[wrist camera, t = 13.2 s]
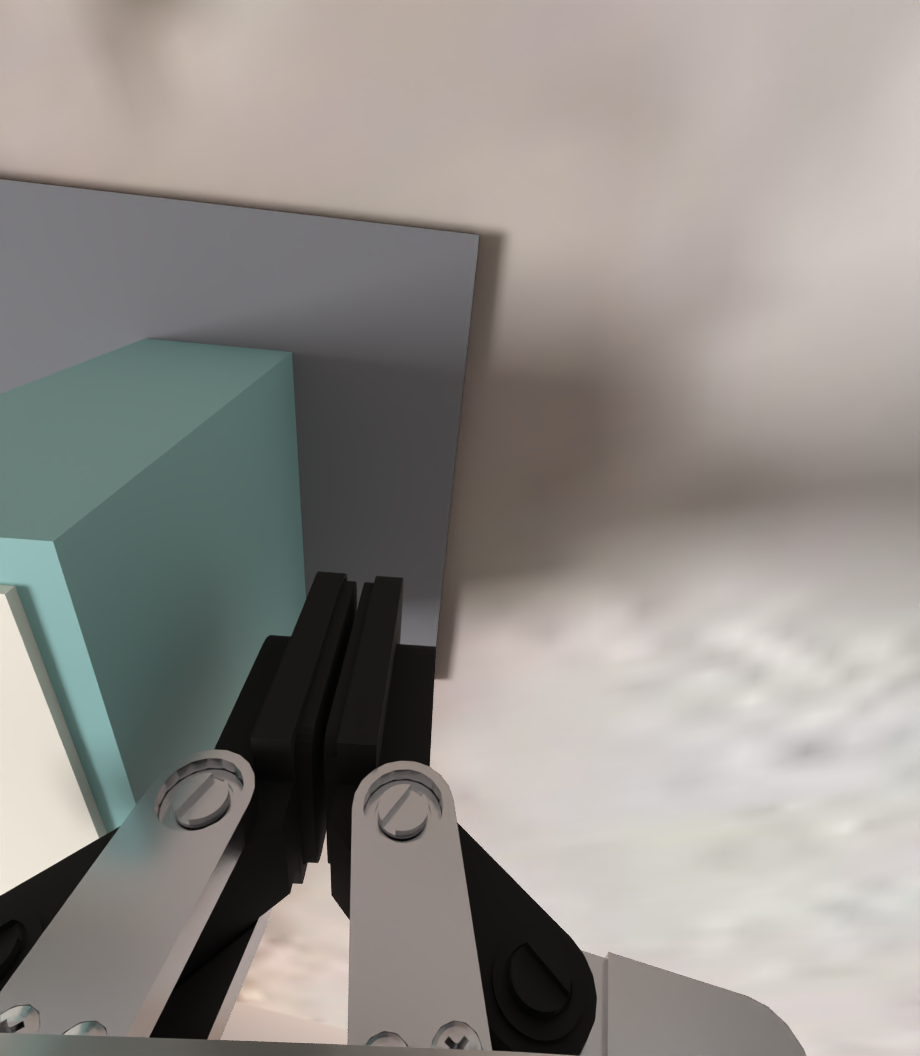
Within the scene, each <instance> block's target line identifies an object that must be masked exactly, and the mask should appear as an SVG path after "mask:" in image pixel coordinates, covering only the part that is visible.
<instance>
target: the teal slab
mask: <svg viewBox="0 0 920 1056" xmlns="http://www.w3.org/2000/svg"><path fill="white" fill-rule="evenodd" d="M305 601H306V590H305V573H304V555H303V537H302V520H301V502H300V485H299V467H298V449H297V432H296V414H295V396H294V379H293V361H292V352H287V351H276V350H265V349H254V348H244V347H233V346H222V345H211V344H201V343H190V342H179V341H168V340H158V339H147V338H145V339H142V340H140V341H137V342H134V343H132V344H129V345H126V346H124V347H121V348H119V349H116V350H113V351H111V352H108V353H106V354H103V355H100V356H98V357H95V358H93V359H90V360H87V361H85V362H82V363H79V364H77V365H74V366H72V367H69V368H66V369H64V370H61V371H59V372H56V373H53V374H51V375H48V376H45V377H43V378H40V379H38V380H35V381H32V382H30V383H27V384H25V385H22V386H19V387H17V388H14V389H11V390H9V391H6V392H4V393H1V394H0V895H2V894H4V893H6V892H7V891H9V890H11V889H13V888H14V887H16V886H18V885H19V884H21V883H23V882H25V881H26V880H28V879H30V878H32V877H33V876H35V875H37V874H38V873H40V872H42V871H44V870H45V869H47V868H49V867H51V866H52V865H54V864H56V863H57V862H59V861H61V860H63V859H64V858H66V857H68V856H69V855H71V854H73V853H75V852H76V851H78V850H80V849H82V848H83V847H85V846H87V845H88V844H90V843H92V842H94V841H95V840H97V839H99V838H101V837H102V836H104V835H106V834H107V833H109V832H111V831H113V830H114V829H116V828H118V827H120V826H121V825H122V823H123V822H124V821H125V819H126V818H127V817H128V815H129V814H130V812H131V811H132V810H133V808H134V807H135V806H136V804H137V803H138V801H139V800H140V799H141V797H142V796H143V794H144V793H145V792H146V790H147V789H148V788H149V786H150V785H151V783H152V782H153V781H154V780H155V779H156V778H157V777H158V776H159V775H160V774H161V773H162V771H163V770H164V769H166V768H167V767H169V766H170V765H172V764H173V763H175V762H176V761H177V760H179V759H181V758H184V757H186V756H188V755H191V754H193V753H196V752H201V751H206V750H211V749H212V750H214V748H215V746H216V744H217V742H218V740H219V738H220V735H221V733H222V731H223V729H224V727H225V725H226V722H227V720H228V718H229V716H230V714H231V712H232V709H233V707H234V705H235V703H236V701H237V699H238V696H239V694H240V692H241V690H242V688H243V686H244V683H245V681H246V679H247V677H248V675H249V673H250V671H251V668H252V666H253V664H254V662H255V660H256V658H257V655H258V653H259V651H260V649H261V647H262V645H263V643H264V641H265V639H266V637H268V636H269V635H277V636H291V635H292V633H293V630H294V628H295V625H296V623H297V620H298V618H299V615H300V613H301V611H302V608H303V606H304V603H305Z"/></svg>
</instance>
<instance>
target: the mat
mask: <svg viewBox="0 0 920 1056" xmlns="http://www.w3.org/2000/svg"><path fill="white" fill-rule="evenodd" d="M478 243H479V234H471V233H462V232H454V231H445V230H436V229H428V228H419V227H411V226H402V225H393V224H385V223H376V222H368V221H359V220H351V219H342V218H333V217H325V216H316V215H308V214H299V213H290V212H282V211H273V210H265V209H256V208H248V207H239V206H230V205H222V204H213V203H205V202H196V201H187V200H179V199H170V198H162V197H153V196H145V195H136V194H127V193H119V192H110V191H102V190H93V189H84V188H76V187H67V186H59V185H50V184H41V183H33V182H24V181H16V180H7V179H0V394H1V393H4V392H6V391H9V390H11V389H14V388H17V387H19V386H22V385H25V384H27V383H30V382H32V381H35V380H38V379H40V378H43V377H45V376H48V375H51V374H53V373H56V372H59V371H61V370H64V369H66V368H69V367H72V366H74V365H77V364H79V363H82V362H85V361H87V360H90V359H93V358H95V357H98V356H100V355H103V354H106V353H108V352H111V351H113V350H116V349H119V348H121V347H124V346H126V345H129V344H132V343H134V342H137V341H140V340H142V339H145V338H147V339H158V340H168V341H179V342H190V343H201V344H211V345H222V346H233V347H244V348H254V349H265V350H276V351H287V352H292V361H293V379H294V396H295V414H296V432H297V449H298V467H299V485H300V502H301V520H302V537H303V555H304V573H305V590H306V598H307V596H308V593H309V591H310V588H311V586H312V583H313V581H314V578H315V576H316V574H317V572H319V571H321V572H334V573H346V574H347V581H356V582H357V608H358V604H359V600H360V596H361V593H362V589H363V585H364V582H370V583H374V581H375V577H376V576H387V577H401V578H403V601H402V620H401V639H400V644H406V645H421V646H435V647H436V640H437V631H438V621H439V612H440V602H441V593H442V583H443V574H444V564H445V555H446V546H447V536H448V527H449V517H450V508H451V498H452V489H453V479H454V470H455V461H456V451H457V442H458V432H459V423H460V413H461V404H462V394H463V385H464V376H465V366H466V357H467V347H468V338H469V328H470V319H471V310H472V300H473V291H474V281H475V272H476V262H477V253H478Z"/></svg>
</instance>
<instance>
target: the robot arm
mask: <svg viewBox="0 0 920 1056" xmlns="http://www.w3.org/2000/svg"><path fill="white" fill-rule="evenodd" d="M402 601H403V578H401V577H387V576H376V577H375V581H374V583H370V582H364V585H363V589H362V593H361V596H360V600H359V604H358V608H357V582H356V581H347V574H346V573H334V572H321V571H319V572H317V574H316V576H315V578H314V581H313V583H312V586H311V588H310V591H309V593H308V596H307V598H306V601H305V603H304V606H303V608H302V611H301V613H300V615H299V618H298V620H297V623H296V625H295V628H294V630H293V633H292V635H291V636H277V635H269V636H268V637H266V639H265V641H264V643H263V645H262V647H261V649H260V651H259V653H258V655H257V658H256V660H255V662H254V664H253V666H252V668H251V671H250V673H249V675H248V677H247V679H246V681H245V683H244V686H243V688H242V690H241V692H240V694H239V696H238V699H237V701H236V703H235V705H234V707H233V709H232V712H231V714H230V716H229V718H228V720H227V722H226V725H225V727H224V729H223V731H222V733H221V735H220V738H219V740H218V742H217V744H216V746H215V748H214V750H212V749H211V750H206V751H201V752H196V753H193V754H191V755H188V756H186V757H184V758H181V759H179V760H177V761H176V762H175V763H173V764H172V765H170V766H169V767H167V768H166V769H164V770H163V771H162V773H161V774H160V775H159V776H158V777H157V778H156V779H155V780H154V781H153V782H152V783H151V785H150V786H149V788H148V789H147V790H146V792H145V793H144V794H143V796H142V797H141V799H140V800H139V801H138V803H137V804H136V806H135V807H134V808H133V810H132V811H131V812H130V814H129V815H128V817H127V818H126V819H125V821H124V822H123V823H122V825H121V826H120V827H118V828H116V829H114V830H113V831H111V832H109V833H107V834H106V835H104V836H102V837H101V838H99V839H97V840H95V841H94V842H92V843H90V844H88V845H87V846H85V847H83V848H82V849H80V850H78V851H76V852H75V853H73V854H71V855H69V856H68V857H66V858H64V859H63V860H61V861H59V862H57V863H56V864H54V865H52V866H51V867H49V868H47V869H45V870H44V871H42V872H40V873H38V874H37V875H35V876H33V877H32V878H30V879H28V880H26V881H25V882H23V883H21V884H19V885H18V886H16V887H14V888H13V889H11V890H9V891H7V892H6V893H4V894H2V895H0V1056H806V1054H805V1051H804V1049H803V1047H802V1046H801V1044H800V1043H799V1041H798V1040H797V1038H796V1037H795V1035H794V1034H793V1032H792V1031H791V1029H790V1028H789V1026H788V1025H787V1024H786V1023H785V1022H784V1021H783V1020H782V1019H781V1018H780V1017H778V1016H777V1015H776V1014H775V1013H774V1012H773V1011H772V1010H771V1009H770V1008H769V1007H767V1006H766V1005H764V1004H762V1003H760V1002H758V1001H756V1000H754V999H752V998H750V997H748V996H745V995H742V994H739V993H736V992H733V991H730V990H726V989H723V988H720V987H717V986H714V985H711V984H708V983H704V982H701V981H698V980H695V979H692V978H689V977H686V976H682V975H679V974H676V973H673V972H670V971H667V970H663V969H660V968H657V967H654V966H651V965H648V964H645V963H641V962H638V961H635V960H632V959H629V958H626V957H623V956H619V955H616V954H613V953H610V952H608V954H607V956H606V958H603V957H600V956H597V955H594V954H591V953H587V952H584V951H581V950H580V949H579V947H578V946H577V945H576V944H575V942H574V941H573V940H572V938H571V937H570V936H569V935H568V934H567V933H566V932H565V931H564V930H563V929H562V928H561V927H560V926H559V925H558V924H557V923H556V922H555V921H554V920H553V919H552V918H551V917H550V916H549V915H548V914H547V913H546V912H545V911H544V910H543V909H542V908H541V907H540V906H539V905H538V904H537V903H536V902H535V901H534V900H533V899H532V898H531V897H530V896H529V895H528V894H527V893H526V892H525V891H524V890H523V889H522V888H521V887H520V886H519V885H518V884H517V883H516V882H515V881H514V880H513V878H512V877H511V876H510V875H509V874H508V873H507V872H506V871H505V870H504V869H503V868H502V867H501V866H500V865H499V864H498V863H497V862H496V861H495V860H494V859H493V858H492V857H491V856H490V855H489V854H488V853H487V852H486V851H485V850H484V849H483V848H482V847H481V846H480V845H479V844H478V843H477V842H476V841H475V840H474V839H473V838H472V837H471V836H470V835H469V834H468V833H467V832H466V831H465V830H464V829H463V828H462V827H461V826H460V825H459V824H458V823H457V819H456V812H455V806H454V800H453V797H452V793H451V790H450V787H449V785H448V784H447V783H446V781H445V780H444V779H443V777H442V776H441V775H440V774H439V773H437V772H436V771H435V770H433V769H432V768H430V748H431V729H432V710H433V692H434V673H435V654H436V647H435V646H421V645H406V644H400V639H401V620H402ZM326 830H327V855H328V863H330V865H331V892H332V896H333V898H334V899H335V901H336V902H337V903H338V905H339V906H340V907H341V909H342V910H343V912H344V913H345V914H346V916H347V917H348V919H349V920H350V942H349V996H348V1045H337V1044H313V1043H285V1042H258V1041H229V1040H220V1038H221V1036H222V1034H223V1031H224V1029H225V1026H226V1024H227V1022H228V1019H229V1017H230V1014H231V1012H232V1010H233V1007H234V1005H235V1002H236V1000H237V997H238V995H239V992H240V990H241V988H242V985H243V983H244V980H245V978H246V975H247V973H248V971H249V968H250V966H251V963H252V961H253V958H254V956H255V954H256V951H257V949H258V946H259V944H260V941H261V939H262V936H263V934H264V932H265V929H266V927H267V924H268V920H269V917H270V913H271V908H272V907H273V906H275V905H276V904H277V903H278V902H280V901H281V900H282V899H283V898H285V897H286V896H287V895H288V894H290V892H291V888H292V884H293V883H297V884H303V880H304V876H305V872H306V867H307V863H308V862H310V863H318V862H319V860H320V857H321V853H322V848H323V843H324V839H325V834H326Z"/></svg>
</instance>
